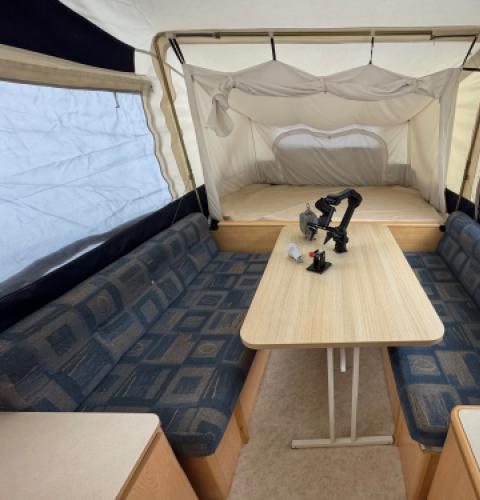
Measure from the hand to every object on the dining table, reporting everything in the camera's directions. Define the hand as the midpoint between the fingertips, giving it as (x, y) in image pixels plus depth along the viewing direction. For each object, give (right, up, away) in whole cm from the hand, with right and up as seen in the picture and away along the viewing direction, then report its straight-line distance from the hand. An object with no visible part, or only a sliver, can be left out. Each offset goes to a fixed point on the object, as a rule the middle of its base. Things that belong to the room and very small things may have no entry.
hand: (317, 242), depth 144 cm
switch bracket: (+1, -14, +3) cm, 14 cm away
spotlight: (-14, -9, +13) cm, 21 cm away
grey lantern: (-9, +4, +42) cm, 43 cm away
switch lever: (-1, -8, -4) cm, 9 cm away
